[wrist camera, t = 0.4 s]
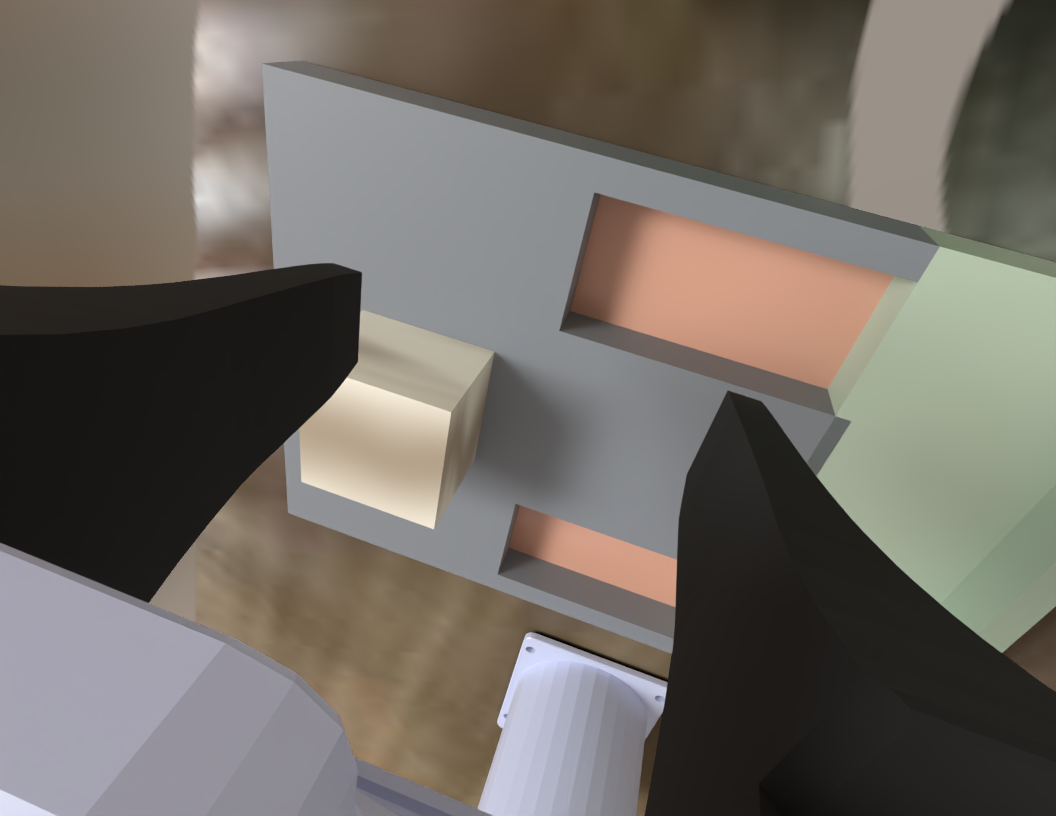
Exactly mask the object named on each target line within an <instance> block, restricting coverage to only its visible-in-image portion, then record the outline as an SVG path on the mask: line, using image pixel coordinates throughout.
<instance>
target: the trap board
mask: <svg viewBox="0 0 1056 816" xmlns="http://www.w3.org/2000/svg"><path fill="white" fill-rule="evenodd" d="M262 71H263V88H264V106H265V123H266V140H267V157H268V174H269V192H270V209H271V226H272V243H273V261H274V269H278V268H284V267H291V266H299V265H307V264H318V263H335V264H338V265H341V266H344V267H347V268H350V269H353V270H356V271H360V272H362V287H361V309H360V312H361V311H362V310H365V311H368V312H371V313H374V314H377V315H380V316H384V317H387V318H390V319H393V320H396V321H399V322H402V323H406V324H409V325H412V326H415V327H418V328H421V329H424V330H428V331H431V332H434V333H437V334H440V335H443V336H447V337H450V338H453V339H456V340H459V341H462V342H465V343H469V344H472V345H475V346H478V347H481V348H484V349H487V350H491V351H494V358H493V363H492V369H491V374H490V379H489V385H488V390H487V395H486V401H485V406H484V412H483V417H482V422H481V428H480V433H479V439H478V444H477V449H476V455H475V460H474V462H473V463H472V465H471V467H470V469H469V470H468V472H467V474H466V475H465V477H464V479H463V481H462V482H461V484H460V486H459V487H458V489H457V491H456V493H455V494H454V496H453V498H452V500H451V501H450V503H449V505H448V506H447V508H446V510H445V512H444V513H443V515H442V517H441V518H440V520H439V522H438V524H437V525H436V527H435V529H431V528H429V527H426V526H423V525H420V524H418V523H415V522H412V521H409V520H406V519H404V518H401V517H398V516H395V515H392V514H390V513H387V512H384V511H381V510H379V509H376V508H373V507H370V506H367V505H365V504H362V503H359V502H356V501H354V500H351V499H348V498H345V497H342V496H340V495H337V494H334V493H331V492H328V491H326V490H323V489H320V488H317V487H315V486H312V485H309V484H306V483H303V482H301V459H300V433H299V429H298V430H297V431H296V432H295V433H294V434H293V435H292V436H291V437H289V438H288V439H287V440H286V441H285V442H284V450H285V467H286V484H287V501H288V513H290V514H292V515H295V516H298V517H301V518H303V519H306V520H309V521H311V522H314V523H317V524H320V525H322V526H325V527H328V528H330V529H333V530H336V531H339V532H341V533H344V534H347V535H350V536H352V537H355V538H358V539H360V540H363V541H366V542H369V543H371V544H374V545H377V546H380V547H382V548H385V549H388V550H390V551H393V552H396V553H399V554H401V555H404V556H407V557H409V558H412V559H415V560H418V561H420V562H423V563H426V564H429V565H431V566H434V567H437V568H439V569H442V570H445V571H448V572H450V573H453V574H456V575H458V576H461V577H464V578H467V579H469V580H472V581H475V582H478V583H480V584H483V585H486V586H488V587H491V588H494V589H497V590H499V591H502V592H505V593H507V594H510V595H513V596H516V597H518V598H521V599H524V600H527V601H529V602H532V603H535V604H537V605H540V606H543V607H546V608H548V609H551V610H554V611H556V612H559V613H562V614H565V615H567V616H570V617H573V618H576V619H578V620H581V621H584V622H586V623H589V624H592V625H595V626H597V627H600V628H603V629H606V630H608V631H611V632H614V633H616V634H619V635H622V636H625V637H627V638H630V639H633V640H635V641H638V642H641V643H644V644H646V645H649V646H652V647H655V648H657V649H660V650H663V651H665V652H668V653H671V654H672V650H673V640H674V628H675V606H676V575H677V546H678V523H679V514H680V508H681V502H682V497H683V491H684V486H685V481H686V476H687V473H688V471H689V469H690V467H691V465H692V463H693V461H694V459H695V456H696V454H697V452H698V450H699V448H700V446H701V444H702V442H703V440H704V438H705V436H706V434H707V432H708V430H709V428H710V426H711V424H712V422H713V419H714V417H715V415H716V413H717V411H718V409H719V407H720V405H721V403H722V401H723V399H724V397H725V395H726V393H727V391H731V392H734V393H737V394H741V395H744V396H747V397H750V398H753V399H756V400H759V401H762V403H763V404H764V405H765V406H766V407H767V409H768V410H769V411H770V413H771V414H772V415H773V417H774V418H775V419H776V421H777V422H778V424H779V425H780V427H781V428H782V429H783V431H784V432H785V434H786V435H787V437H788V438H789V439H790V441H791V442H792V444H793V445H794V446H795V448H796V449H797V451H798V452H799V453H800V455H801V456H802V458H803V459H804V460H805V462H806V463H807V464H808V466H809V467H810V468H811V470H812V471H813V472H814V474H815V475H816V476H817V478H818V479H819V480H820V481H821V483H822V484H823V485H824V486H825V488H826V489H827V490H828V491H829V493H830V494H831V495H832V496H833V497H834V499H835V500H836V501H837V502H838V503H839V505H840V506H841V507H842V508H843V509H844V511H845V512H846V513H847V514H848V515H849V516H850V518H851V519H852V520H853V521H854V522H855V523H856V524H857V525H858V526H859V527H860V529H861V530H862V531H863V532H864V533H865V534H866V535H867V536H868V537H869V538H870V539H871V540H872V541H873V542H874V543H875V544H876V545H877V546H878V547H879V548H880V549H881V550H882V551H883V552H884V553H885V554H886V555H887V556H888V557H889V558H890V559H891V560H892V561H893V562H894V563H895V564H896V565H897V566H898V567H899V568H900V569H901V570H902V571H904V572H905V573H906V574H907V575H908V576H909V577H910V578H911V579H912V580H913V581H914V582H916V583H917V584H918V585H919V586H920V587H921V588H922V589H924V590H925V591H926V592H927V593H928V594H929V595H931V596H932V597H933V598H934V599H935V600H936V601H937V602H939V603H940V604H941V605H942V606H943V607H944V608H946V609H947V610H948V611H949V612H950V613H951V614H953V615H954V616H955V617H956V618H957V619H959V620H960V621H961V622H962V623H964V624H965V625H966V626H967V627H969V628H970V629H971V630H972V631H974V632H975V633H976V634H978V635H979V636H980V637H981V638H983V639H984V640H985V641H986V642H988V643H989V644H990V645H992V646H993V647H994V648H996V649H997V650H998V651H1000V652H1001V653H1002V652H1004V651H1005V650H1006V649H1007V648H1008V647H1009V646H1011V645H1012V644H1013V643H1014V642H1015V641H1016V640H1017V639H1019V638H1020V637H1021V636H1022V635H1023V634H1024V633H1025V632H1027V631H1028V630H1029V629H1030V628H1031V627H1032V626H1034V625H1035V624H1036V623H1037V622H1038V621H1039V620H1040V619H1042V618H1043V617H1044V616H1045V615H1046V614H1047V613H1049V612H1050V611H1051V610H1052V609H1053V608H1054V607H1055V606H1056V262H1052V261H1049V260H1045V259H1041V258H1038V257H1034V256H1030V255H1026V254H1023V253H1019V252H1015V251H1011V250H1008V249H1004V248H1000V247H996V246H993V245H989V244H985V243H981V242H978V241H974V240H970V239H966V238H963V237H959V236H955V235H951V234H948V233H944V232H940V231H936V230H933V229H929V228H925V227H921V226H918V225H914V224H910V223H907V222H902V221H899V220H895V219H891V218H888V217H884V216H880V215H877V214H873V213H869V212H865V211H862V210H858V209H854V208H850V207H847V206H843V205H839V204H835V203H832V202H828V201H824V200H820V199H817V198H813V197H809V196H805V195H802V194H798V193H794V192H790V191H787V190H783V189H779V188H776V187H772V186H768V185H764V184H761V183H757V182H753V181H749V180H746V179H742V178H738V177H734V176H731V175H727V174H723V173H719V172H716V171H712V170H708V169H704V168H701V167H697V166H693V165H689V164H686V163H682V162H678V161H674V160H671V159H667V158H663V157H659V156H656V155H652V154H648V153H645V152H641V151H637V150H633V149H630V148H626V147H622V146H618V145H615V144H611V143H607V142H603V141H600V140H596V139H592V138H588V137H585V136H581V135H577V134H573V133H570V132H566V131H562V130H558V129H555V128H551V127H547V126H543V125H540V124H536V123H532V122H528V121H525V120H521V119H517V118H514V117H510V116H506V115H502V114H499V113H495V112H491V111H487V110H484V109H480V108H476V107H472V106H469V105H465V104H461V103H457V102H454V101H450V100H446V99H442V98H439V97H435V96H431V95H427V94H424V93H420V92H416V91H412V90H409V89H405V88H401V87H397V86H394V85H390V84H386V83H383V82H379V81H375V80H371V79H368V78H364V77H360V76H356V75H353V74H349V73H345V72H341V71H338V70H334V69H330V68H326V67H323V66H319V65H315V64H311V63H308V62H304V61H292V62H277V63H262Z"/></svg>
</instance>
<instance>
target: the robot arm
mask: <svg viewBox="0 0 1056 816" xmlns="http://www.w3.org/2000/svg"><path fill="white" fill-rule="evenodd" d="M361 287H362V272H360V271H356V270H353V269H350V268H347V267H344V266H341V265H338V264H335V263H318V264H307V265H299V266H291V267H284V268H278V269H271V270H264V271H258V272H251V273H245V274H238V275H231V276H224V277H215V278H207V279H199V280H191V281H183V282H175V283H164V284H152V285H136V286H114V287H21V286H1V285H0V816H636V814H637V805H638V796H639V787H640V778H641V769H642V760H643V751H644V742H645V739H646V738H647V736H648V735H649V733H650V731H651V730H652V728H653V727H654V725H655V724H656V722H657V720H658V719H659V717H660V716H661V714H662V713H663V715H662V721H661V727H660V733H659V739H658V745H657V751H656V757H655V763H654V768H653V773H652V779H651V784H650V790H649V795H648V801H647V806H646V812H645V816H1056V692H1055V691H1053V690H1052V689H1050V688H1049V687H1047V686H1046V685H1044V684H1043V683H1042V682H1040V681H1039V680H1037V679H1036V678H1035V677H1033V676H1032V675H1030V674H1029V673H1028V672H1026V671H1025V670H1024V669H1022V668H1021V667H1020V666H1018V665H1017V664H1016V663H1014V662H1013V661H1012V660H1010V659H1009V658H1008V657H1006V656H1005V655H1004V654H1002V653H1001V652H1000V651H998V650H997V649H996V648H994V647H993V646H992V645H990V644H989V643H988V642H986V641H985V640H984V639H983V638H981V637H980V636H979V635H978V634H976V633H975V632H974V631H972V630H971V629H970V628H969V627H967V626H966V625H965V624H964V623H962V622H961V621H960V620H959V619H957V618H956V617H955V616H954V615H953V614H951V613H950V612H949V611H948V610H947V609H946V608H944V607H943V606H942V605H941V604H940V603H939V602H937V601H936V600H935V599H934V598H933V597H932V596H931V595H929V594H928V593H927V592H926V591H925V590H924V589H922V588H921V587H920V586H919V585H918V584H917V583H916V582H914V581H913V580H912V579H911V578H910V577H909V576H908V575H907V574H906V573H905V572H904V571H902V570H901V569H900V568H899V567H898V566H897V565H896V564H895V563H894V562H893V561H892V560H891V559H890V558H889V557H888V556H887V555H886V554H885V553H884V552H883V551H882V550H881V549H880V548H879V547H878V546H877V545H876V544H875V543H874V542H873V541H872V540H871V539H870V538H869V537H868V536H867V535H866V534H865V533H864V532H863V531H862V530H861V529H860V527H859V526H858V525H857V524H856V523H855V522H854V521H853V520H852V519H851V518H850V516H849V515H848V514H847V513H846V512H845V511H844V509H843V508H842V507H841V506H840V505H839V503H838V502H837V501H836V500H835V499H834V497H833V496H832V495H831V494H830V493H829V491H828V490H827V489H826V488H825V486H824V485H823V484H822V483H821V481H820V480H819V479H818V478H817V476H816V475H815V474H814V472H813V471H812V470H811V468H810V467H809V466H808V464H807V463H806V462H805V460H804V459H803V458H802V456H801V455H800V453H799V452H798V451H797V449H796V448H795V446H794V445H793V444H792V442H791V441H790V439H789V438H788V437H787V435H786V434H785V432H784V431H783V429H782V428H781V427H780V425H779V424H778V422H777V421H776V419H775V418H774V417H773V415H772V414H771V413H770V411H769V410H768V409H767V407H766V406H765V405H764V404H763V403H762V401H759V400H756V399H753V398H750V397H747V396H744V395H741V394H737V393H734V392H731V391H727V393H726V395H725V397H724V399H723V401H722V403H721V405H720V407H719V409H718V411H717V413H716V415H715V417H714V419H713V422H712V424H711V426H710V428H709V430H708V432H707V434H706V436H705V438H704V440H703V442H702V444H701V446H700V448H699V450H698V452H697V454H696V456H695V459H694V461H693V463H692V465H691V467H690V469H689V471H688V473H687V476H686V481H685V486H684V491H683V497H682V502H681V508H680V514H679V523H678V546H677V575H676V606H675V628H674V640H673V650H672V656H671V663H670V670H669V677H668V682H665V681H663V680H660V679H657V678H655V677H652V676H649V675H647V674H644V673H641V672H639V671H636V670H633V669H631V668H628V667H625V666H623V665H620V664H617V663H615V662H612V661H609V660H607V659H604V658H601V657H599V656H596V655H593V654H590V653H588V652H585V651H582V650H580V649H577V648H574V647H572V646H569V645H566V644H564V643H561V642H558V641H556V640H553V639H550V638H548V637H545V636H542V635H540V634H537V633H533V632H530V633H527V634H526V635H525V638H524V641H523V644H522V647H521V650H520V653H519V656H518V659H517V662H516V665H515V668H514V671H513V675H512V678H511V681H510V684H509V687H508V690H507V693H506V696H505V699H504V702H503V705H502V708H501V712H500V715H499V718H498V721H497V723H498V725H499V726H500V727H501V728H503V730H502V733H501V736H500V740H499V743H498V746H497V749H496V752H495V755H494V759H493V762H492V765H491V768H490V771H489V774H488V777H487V781H486V784H485V787H484V790H483V793H482V796H481V799H480V803H479V806H478V809H476V808H474V807H472V806H469V805H467V804H465V803H462V802H460V801H457V800H455V799H453V798H450V797H448V796H446V795H443V794H441V793H438V792H436V791H434V790H431V789H429V788H427V787H424V786H422V785H419V784H417V783H415V782H412V781H410V780H408V779H405V778H403V777H401V776H398V775H396V774H393V773H391V772H389V771H386V770H384V769H382V768H379V767H377V766H374V765H372V764H370V763H367V762H365V761H363V760H360V759H358V758H356V757H354V755H353V751H352V749H351V746H350V743H349V741H348V738H347V735H346V732H345V730H344V727H343V724H342V721H341V719H340V716H339V715H338V714H337V713H336V712H335V711H334V710H333V709H332V708H331V707H330V706H329V705H328V704H327V703H326V702H325V701H324V700H323V699H322V698H321V697H320V696H319V695H318V694H317V693H316V692H315V691H314V690H313V689H312V688H311V687H310V686H309V685H308V684H307V683H306V682H305V681H304V680H303V679H302V678H301V677H300V676H299V675H298V674H297V673H295V672H294V671H292V670H290V669H288V668H287V667H285V666H283V665H281V664H280V663H278V662H276V661H274V660H273V659H271V658H269V657H267V656H265V655H264V654H262V653H260V652H258V651H257V650H255V649H253V648H251V647H250V646H248V645H246V644H244V643H243V642H241V641H239V640H237V639H235V638H232V637H230V636H228V635H225V634H223V633H220V632H218V631H215V630H213V629H210V628H208V627H206V626H203V625H201V624H198V623H196V622H193V621H191V620H188V619H186V618H183V617H181V616H179V615H176V614H173V613H171V612H169V611H166V610H164V609H161V608H159V607H156V606H154V605H152V604H149V602H150V600H151V599H152V598H153V596H154V595H155V594H156V592H157V591H158V589H159V588H160V587H161V585H162V584H163V583H164V581H165V579H166V578H167V577H168V575H169V574H170V573H171V571H172V570H173V569H174V567H175V566H176V565H177V563H178V562H179V561H180V559H181V558H182V557H183V556H184V554H185V553H186V552H187V551H188V549H189V548H190V547H191V545H192V544H193V543H194V542H195V540H196V539H197V538H198V536H199V535H200V534H201V533H202V531H203V530H204V529H205V528H206V526H207V525H208V524H209V522H210V521H211V520H212V519H213V518H214V516H215V515H216V514H217V513H218V512H219V510H220V509H221V508H222V507H223V506H224V505H225V503H226V502H227V501H228V500H229V499H230V497H231V496H232V495H233V494H234V493H235V491H236V490H237V489H238V488H239V487H240V485H241V484H242V483H243V482H244V481H245V480H246V479H247V478H248V477H249V476H250V475H251V474H252V473H253V472H254V471H255V470H256V469H257V468H258V467H259V466H260V465H261V464H262V463H263V462H264V461H265V460H266V459H267V458H268V457H269V456H270V455H271V454H273V453H274V452H275V451H276V450H277V449H278V448H279V447H280V446H281V445H282V444H283V443H284V442H285V441H286V440H287V439H288V438H289V437H291V436H292V435H293V434H294V433H295V432H296V431H297V430H298V429H299V428H300V427H301V426H302V425H303V424H304V423H305V422H306V421H307V420H308V419H310V418H311V417H312V416H313V415H314V414H315V413H316V412H317V411H318V410H319V409H320V408H321V407H322V406H323V405H324V404H325V403H326V402H327V401H328V400H329V399H330V398H331V397H332V396H333V394H334V393H335V392H336V391H337V389H338V388H339V387H340V386H341V384H342V383H343V382H344V381H345V379H346V378H347V376H348V375H349V374H350V372H351V371H352V370H353V368H354V367H355V365H356V364H357V363H358V351H359V330H360V309H361Z"/></svg>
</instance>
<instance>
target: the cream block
mask: <svg viewBox="0 0 1056 816" xmlns="http://www.w3.org/2000/svg"><path fill="white" fill-rule="evenodd" d="M493 358H494V351H491V350H487V349H484V348H481V347H478V346H475V345H472V344H469V343H465V342H462V341H459V340H456V339H453V338H450V337H447V336H443V335H440V334H437V333H434V332H431V331H428V330H424V329H421V328H418V327H415V326H412V325H409V324H406V323H402V322H399V321H396V320H393V319H390V318H387V317H384V316H380V315H377V314H374V313H371V312H368V311H365V310H362V311H361V312H360V330H359V351H358V363H357V364H356V365H355V367H354V368H353V370H352V371H351V372H350V374H349V375H348V376H347V378H346V379H345V381H344V382H343V383H342V384H341V386H340V387H339V388H338V389H337V391H336V392H335V393H334V394H333V396H332V397H331V398H330V399H329V400H328V401H327V402H326V403H325V404H324V405H323V406H322V407H321V408H320V409H319V410H318V411H317V412H316V413H315V414H314V415H313V416H312V417H311V418H310V419H308V420H307V421H306V422H305V423H304V424H303V425H302V426H301V427H300V428H299V433H300V459H301V482H303V483H306V484H309V485H312V486H315V487H317V488H320V489H323V490H326V491H328V492H331V493H334V494H337V495H340V496H342V497H345V498H348V499H351V500H354V501H356V502H359V503H362V504H365V505H367V506H370V507H373V508H376V509H379V510H381V511H384V512H387V513H390V514H392V515H395V516H398V517H401V518H404V519H406V520H409V521H412V522H415V523H418V524H420V525H423V526H426V527H429V528H431V529H435V527H436V525H437V524H438V522H439V520H440V518H441V517H442V515H443V513H444V512H445V510H446V508H447V506H448V505H449V503H450V501H451V500H452V498H453V496H454V494H455V493H456V491H457V489H458V487H459V486H460V484H461V482H462V481H463V479H464V477H465V475H466V474H467V472H468V470H469V469H470V467H471V465H472V463H473V462H474V460H475V455H476V449H477V444H478V439H479V433H480V428H481V422H482V417H483V412H484V406H485V401H486V395H487V390H488V385H489V379H490V374H491V369H492V363H493Z"/></svg>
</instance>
